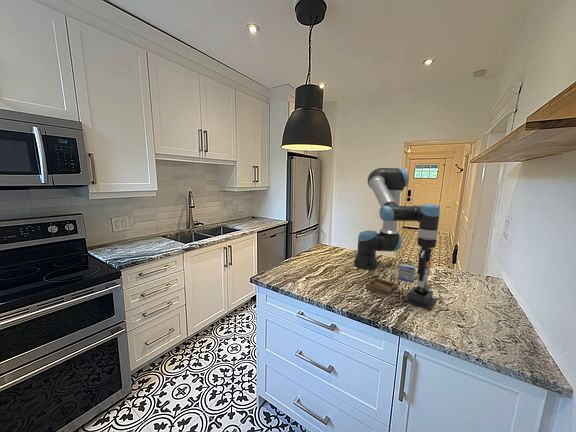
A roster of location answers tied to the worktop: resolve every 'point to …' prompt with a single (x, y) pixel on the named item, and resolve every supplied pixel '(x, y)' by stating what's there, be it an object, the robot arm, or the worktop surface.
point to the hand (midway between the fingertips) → (421, 285)
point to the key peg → (423, 290)
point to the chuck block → (420, 299)
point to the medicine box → (406, 272)
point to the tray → (381, 286)
